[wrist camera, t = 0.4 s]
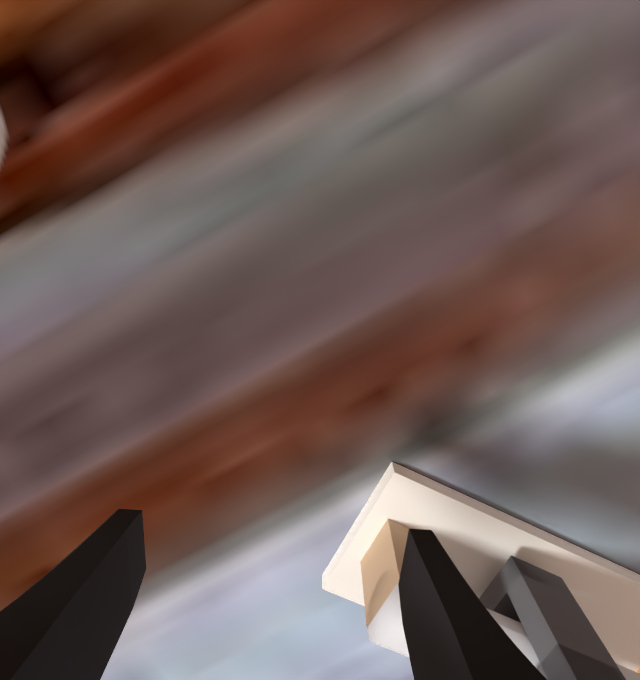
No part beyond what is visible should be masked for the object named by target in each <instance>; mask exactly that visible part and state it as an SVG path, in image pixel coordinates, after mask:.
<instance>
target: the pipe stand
mask: <svg viewBox="0 0 640 680" xmlns="http://www.w3.org/2000/svg"><path fill="white" fill-rule="evenodd" d="M409 529H424V530H432V531H433V533H434V534H435V535H436V537H437V538H438V540H439V542H440V543H441V545H442V546H443V548H444V549H445V551H446V552H447V554H448V555H449V557H450V558H451V560H452V561H453V563H454V564H455V566H456V567H457V569H458V570H459V572H460V573H461V575H462V576H463V578H464V579H465V580H466V582H467V583H468V585H469V586H470V587H471V589H472V590H473V591H474V593H475V594H476V596H477V597H478V598H480V596H481V595H482V594H483V592H484V591H485V590H486V588H487V587H488V586H489V584H490V583H491V582H492V580H493V579H494V578H495V576H496V575H497V574H498V572H499V571H500V570H501V568H502V567H503V566H504V564H505V563H506V562H507V560H508V559H509V557H510V556H511V555H512V556H514V557H516V558H518V559H521V560H523V561H525V562H527V563H530V564H532V565H534V566H536V567H539V568H541V569H543V570H545V571H548V572H550V573H552V574H554V575H557V576H559V577H561V578H562V579H563V581H564V582H565V584H566V585H567V587H568V589H569V590H570V592H571V593H572V595H573V597H574V598H575V600H576V601H577V603H578V604H579V606H580V608H581V609H582V611H583V612H584V614H585V616H586V617H587V619H588V620H589V622H590V623H591V625H592V627H593V628H594V630H595V631H596V633H597V634H598V636H599V638H600V639H601V641H602V642H603V644H604V646H605V647H606V649H607V650H608V652H609V653H610V655H611V657H612V658H613V660H614V661H615V663H616V665H617V666H618V668H619V669H620V671H621V672H622V674H623V676H624V677H625V679H626V680H640V575H639V574H637V573H635V572H633V571H631V570H628V569H626V568H624V567H622V566H620V565H617V564H615V563H613V562H611V561H609V560H607V559H604V558H602V557H600V556H598V555H596V554H593V553H591V552H589V551H587V550H585V549H582V548H580V547H578V546H576V545H574V544H571V543H569V542H567V541H565V540H563V539H560V538H558V537H556V536H554V535H552V534H550V533H547V532H545V531H543V530H541V529H539V528H536V527H534V526H532V525H530V524H528V523H525V522H523V521H521V520H519V519H517V518H514V517H512V516H510V515H508V514H506V513H503V512H501V511H499V510H497V509H495V508H493V507H490V506H488V505H486V504H484V503H482V502H479V501H477V500H475V499H473V498H471V497H468V496H466V495H464V494H462V493H460V492H457V491H455V490H453V489H451V488H449V487H447V486H444V485H442V484H440V483H438V482H436V481H433V480H431V479H429V478H427V477H425V476H422V475H420V474H418V473H416V472H414V471H411V470H409V469H407V468H405V467H403V466H400V465H398V464H396V463H394V462H391V463H390V465H389V467H388V468H387V470H386V472H385V473H384V475H383V476H382V478H381V480H380V481H379V483H378V485H377V486H376V488H375V490H374V491H373V493H372V494H371V496H370V498H369V499H368V501H367V503H366V504H365V506H364V507H363V509H362V511H361V512H360V514H359V516H358V517H357V519H356V520H355V522H354V524H353V525H352V527H351V529H350V530H349V532H348V534H347V535H346V537H345V538H344V540H343V542H342V543H341V545H340V547H339V548H338V550H337V551H336V553H335V555H334V556H333V558H332V560H331V561H330V563H329V564H328V566H327V568H326V569H325V571H324V573H323V574H322V589H324V590H326V591H329V592H331V593H334V594H336V595H339V596H341V597H343V598H346V599H348V600H351V601H353V602H356V603H358V604H360V605H363V606H365V615H366V625H367V633H368V636H369V639H370V640H371V641H372V642H373V643H375V644H377V645H380V646H382V647H385V648H387V649H390V650H392V651H395V652H397V653H399V654H402V655H404V656H407V657H409V652H408V648H407V643H406V639H405V634H404V629H403V624H402V615H401V607H400V597H399V587H398V583H399V578H400V573H401V568H402V563H403V557H404V552H405V547H406V542H407V536H408V531H409ZM486 609H487V608H486ZM487 610H488V612H489V613H490V614H491V615H492V617H493V618H494V619H495V620H496V622H497V623H498V624H499V625H500V627H501V628H502V629H503V630H504V632H505V633H506V634H507V635H508V636H509V638H510V639H511V640H512V641H513V642H514V644H515V645H516V646H517V647H518V648H519V649H520V651H521V652H522V653H523V654H524V655H525V656H526V657H527V658H528V659H529V661H530V662H531V663H532V664H533V665H534V666H535V667H536V668H537V667H538V666H539V665H540V662H539V659H538V657H537V655H536V653H535V651H534V649H533V647H532V644H531V642H530V640H529V638H528V636H527V634H526V632H525V630H524V627H523V625H522V623H520V622H518V621H515V620H513V619H511V618H508V617H506V616H504V615H501V614H499V613H497V612H494V611H492V610H490V609H487ZM409 658H410V657H409Z"/></svg>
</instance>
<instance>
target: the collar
mask: <svg viewBox="0 0 640 680" xmlns="http://www.w3.org/2000/svg"><path fill="white" fill-rule="evenodd" d="M479 600H480V601H481V602H482V604H483V605H484V606H485V608H487V609H490V610H492V611H494V612H497V613H499V614H501V615H504V616H506V617H508V618H511V619H513V620H515V621H518V622H520V623H522V625H523V627H524V630H525V632H526V634H527V636H528V638H529V640H530V642H531V644H532V647H533V649H534V651H535V653H536V655H537V657H538V659H539V662H540V665H539V666H538V667H537V669H538V670H539V671H540V673H541V674H542V675H543V676H544V677H545V678H546V679H547V680H626V679H625V677H624V676H623V674H622V672H621V671H620V669H619V668H618V666H617V665H616V663H615V661H614V660H613V658H612V657H611V655H610V653H609V652H608V650H607V649H606V647H605V646H604V644H603V642H602V641H601V639H600V638H599V636H598V634H597V633H596V631H595V630H594V628H593V627H592V625H591V623H590V622H589V620H588V619H587V617H586V616H585V614H584V612H583V611H582V609H581V608H580V606H579V604H578V603H577V601H576V600H575V598H574V597H573V595H572V593H571V592H570V590H569V589H568V587H567V585H566V584H565V582H564V581H563V579H562V578H561V577H559V576H557V575H554V574H552V573H550V572H548V571H545V570H543V569H541V568H539V567H536V566H534V565H532V564H530V563H527V562H525V561H523V560H521V559H518V558H516V557H514V556H512V555H511V556H510V557H509V559H508V560H507V562H506V563H505V564H504V566H503V567H502V568H501V570H500V571H499V572H498V574H497V575H496V576H495V578H494V579H493V580H492V582H491V583H490V584H489V586H488V587H487V588H486V590H485V591H484V592H483V594H482V595H481V596H480V598H479Z"/></svg>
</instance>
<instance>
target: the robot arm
mask: <svg viewBox="0 0 640 680" xmlns="http://www.w3.org/2000/svg"><path fill="white" fill-rule="evenodd" d="M145 570H146V560H145V546H144V532H143V518H142V510H129V509H118V510H117V511H116V512H115V513H114V514H112V515H111V516H110V517H109V518H108V519H107V520H106V521H105V522H104V523H103V524H102V525H101V526H100V527H98V528H97V529H96V530H95V531H94V532H93V533H92V534H91V535H90V536H89V537H88V538H87V539H86V540H85V541H83V542H82V543H81V544H80V545H79V546H78V547H77V548H76V549H75V550H74V551H72V552H71V553H70V554H69V555H68V556H67V557H66V558H65V559H63V560H62V561H61V562H60V563H59V564H58V565H57V566H55V567H54V568H53V569H52V570H51V571H50V572H49V573H47V574H46V575H45V576H44V577H43V578H41V579H40V580H39V581H38V582H37V583H35V584H34V585H33V586H32V587H30V588H29V589H28V590H27V591H26V592H24V593H23V594H22V595H21V596H19V597H18V598H17V599H16V600H15V601H13V602H12V603H11V604H9V605H8V606H7V607H5V608H4V609H3V610H2V611H0V680H100V679H101V676H102V674H103V672H104V670H105V668H106V666H107V663H108V661H109V659H110V657H111V655H112V653H113V651H114V648H115V646H116V644H117V642H118V640H119V638H120V635H121V633H122V631H123V629H124V627H125V624H126V622H127V620H128V618H129V616H130V613H131V611H132V609H133V606H134V603H135V600H136V598H137V595H138V592H139V589H140V586H141V583H142V579H143V576H144V573H145ZM398 587H399V597H400V607H401V615H402V624H403V629H404V634H405V639H406V643H407V648H408V652H409V657H410V662H411V666H412V671H413V675H414V680H547V679H546V678H545V677H544V676H543V675H542V674H541V673H540V671H539V670H538V669H537V668H536V667H535V666H534V665H533V664H532V663H531V662H530V661H529V659H528V658H527V657H526V656H525V655H524V654H523V653H522V652H521V651H520V649H519V648H518V647H517V646H516V645H515V644H514V642H513V641H512V640H511V639H510V638H509V636H508V635H507V634H506V633H505V632H504V630H503V629H502V628H501V627H500V625H499V624H498V623H497V622H496V620H495V619H494V618H493V617H492V615H491V614H490V613H489V612H488V610H487V609H486V608H485V606H484V605H483V604H482V602H481V601H480V600H479V598H478V597H477V596H476V594H475V593H474V591H473V590H472V589H471V587H470V586H469V585H468V583H467V582H466V580H465V579H464V578H463V576H462V575H461V573H460V572H459V570H458V569H457V567H456V566H455V564H454V563H453V561H452V560H451V558H450V557H449V555H448V554H447V552H446V551H445V549H444V548H443V546H442V545H441V543H440V542H439V540H438V538H437V537H436V535H435V534H434V533H433V531H432V530H424V529H409V531H408V536H407V542H406V547H405V552H404V557H403V563H402V568H401V573H400V578H399V583H398Z"/></svg>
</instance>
